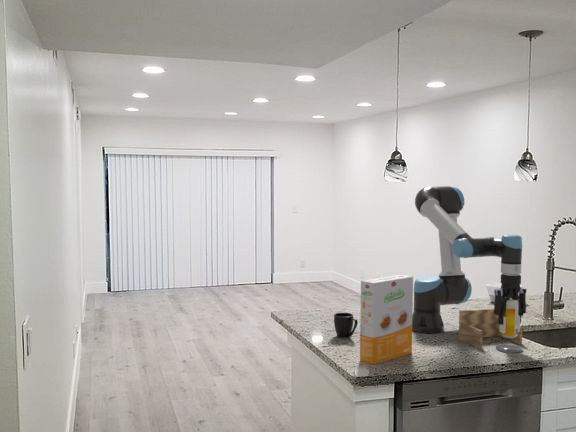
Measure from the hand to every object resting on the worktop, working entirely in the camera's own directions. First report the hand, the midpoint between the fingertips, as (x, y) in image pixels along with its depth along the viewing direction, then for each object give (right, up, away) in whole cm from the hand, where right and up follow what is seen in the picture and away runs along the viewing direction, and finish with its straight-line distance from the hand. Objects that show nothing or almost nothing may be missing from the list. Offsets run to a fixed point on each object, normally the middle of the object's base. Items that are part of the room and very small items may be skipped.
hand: (509, 331), depth 231 cm
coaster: (0, -7, 0) cm, 7 cm away
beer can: (0, -2, 0) cm, 2 cm away
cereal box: (-50, -8, -9) cm, 52 cm away
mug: (-63, -6, +17) cm, 66 cm away
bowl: (+31, -2, +90) cm, 95 cm away
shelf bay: (-4, -6, +12) cm, 14 cm away
